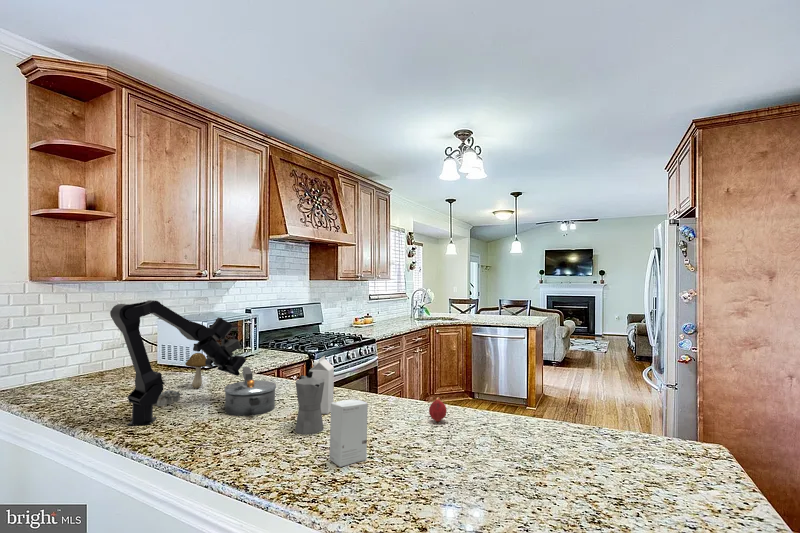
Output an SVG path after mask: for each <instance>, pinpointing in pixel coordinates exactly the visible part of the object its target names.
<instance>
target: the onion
mask: <svg viewBox="0 0 800 533" xmlns="http://www.w3.org/2000/svg"><path fill="white" fill-rule="evenodd" d="M428 413H429V416H430V417H431V419H432V420H433V421H435V422H436V423H440V422H441V421H442V420H444V418H445V417H446V415H447V406H446V405H445V403H444V402H443V401H441V398H440V397H436V398H435V400H434V401H433V402H432V403H431V404H430V406H429V409H428Z"/></svg>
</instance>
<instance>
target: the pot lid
mask: <svg viewBox="0 0 800 533" xmlns="http://www.w3.org/2000/svg"><path fill="white" fill-rule="evenodd" d="M242 377H243V379H244V381H238V382H233V383H230V384H227V385H225V386H224V394H225V393H228V394H232V395H256V394H262V393H267V392H270V391H273V390H274V389H275V390H276V388H277V384H276V383H275V382H273V381H268V380H254V379H253V371H252V369H251V367H250V366H244V367H243V366H242Z"/></svg>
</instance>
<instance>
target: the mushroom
mask: <svg viewBox="0 0 800 533" xmlns="http://www.w3.org/2000/svg"><path fill="white" fill-rule="evenodd" d="M206 360H207V357H206V354H205V353H202V352H195V353H193V354H192V355H190V357H189V359H188V360H187V361H186V362H185V363H184V364H185V366H186V367H189V368H195V375H194V377H193V380H192V384H191V386H192V388H194V389H199V388H201V387H202V385H203V379H202V378H203V377H202V368H205V367H208V366H207V365H206V364H205V361H206Z"/></svg>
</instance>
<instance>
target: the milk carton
mask: <svg viewBox="0 0 800 533" xmlns="http://www.w3.org/2000/svg"><path fill="white" fill-rule="evenodd" d="M312 365H313V366H312V367H311V368H310V369H309V370H308V372H309V371H311V372H313V374H312V377H314V378H319V379H324V388H323V395H322V401H321V413H322V414H323V415H329V414H331V403H332V402H334V386H335V385H334V384H335V383H334V381H335V380H334V378H335V376H334V375H335V371H334V370H335V366H333V365H332V364H331V362H329V361H328V360H327V359H326V355H323V356H322V357H320V358H318V359H317V360H315V361H314V362H313V363H312Z"/></svg>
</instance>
